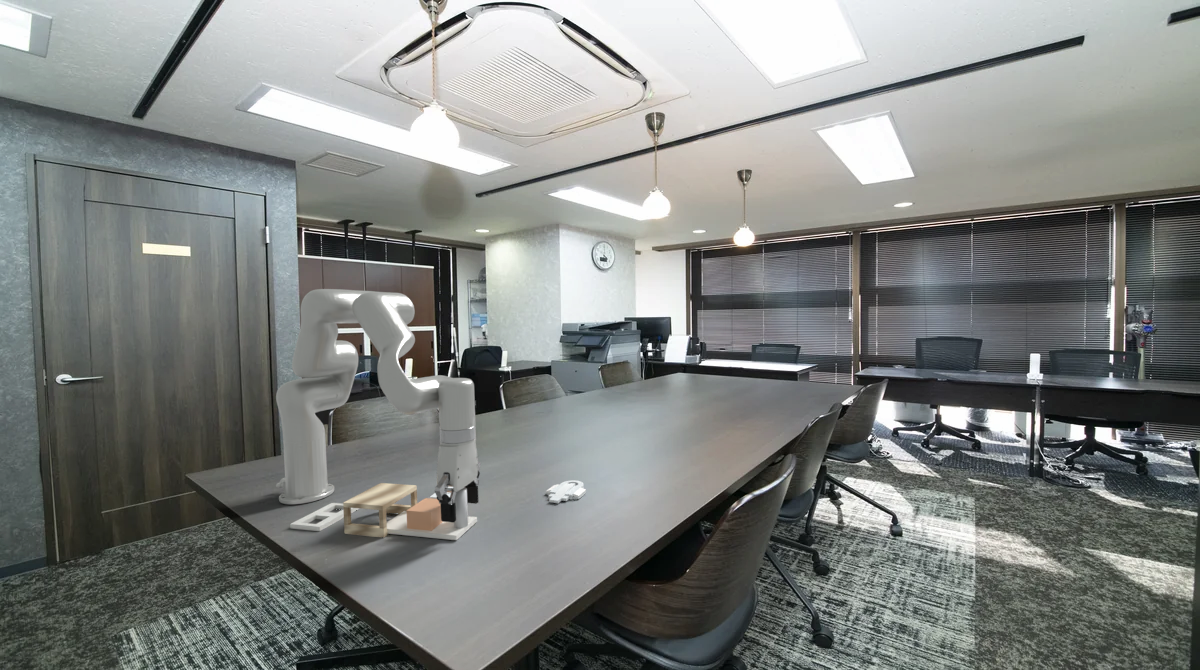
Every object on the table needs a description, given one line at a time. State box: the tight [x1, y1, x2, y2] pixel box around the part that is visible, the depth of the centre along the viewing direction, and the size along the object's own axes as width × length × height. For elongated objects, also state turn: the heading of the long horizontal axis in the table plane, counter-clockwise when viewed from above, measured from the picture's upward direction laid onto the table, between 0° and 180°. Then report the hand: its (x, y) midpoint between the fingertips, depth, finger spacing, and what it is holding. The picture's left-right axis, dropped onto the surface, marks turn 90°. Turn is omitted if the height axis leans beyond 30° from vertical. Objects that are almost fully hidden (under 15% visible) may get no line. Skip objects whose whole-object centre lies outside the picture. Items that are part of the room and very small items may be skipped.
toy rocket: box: [545, 479, 587, 504], centre depth 123 cm, size 16×10×2 cm, turn 157°
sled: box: [387, 487, 478, 541], centre depth 104 cm, size 19×9×9 cm, turn 77°
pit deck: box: [289, 502, 360, 532], centre depth 110 cm, size 8×12×1 cm, turn 167°
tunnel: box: [342, 482, 418, 539], centre depth 106 cm, size 10×12×7 cm
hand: (460, 511), depth 102 cm, fingers open, 9 cm apart
